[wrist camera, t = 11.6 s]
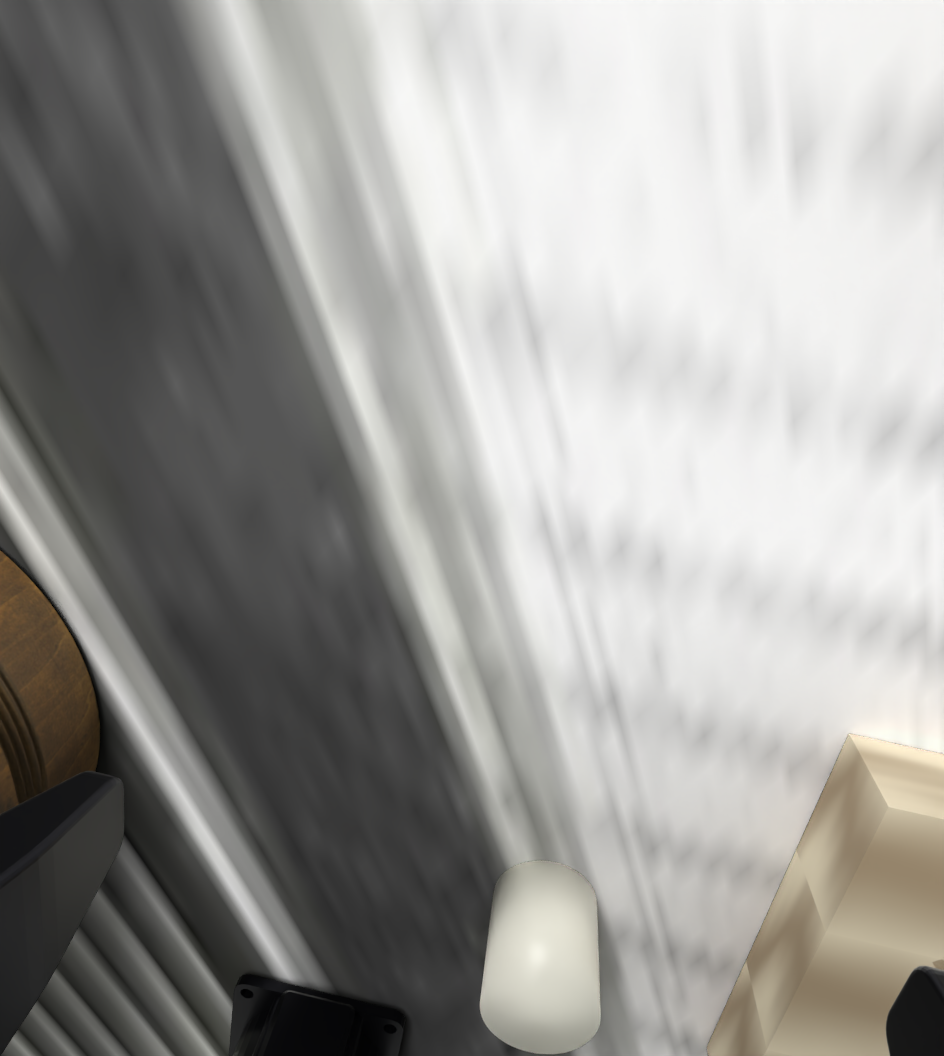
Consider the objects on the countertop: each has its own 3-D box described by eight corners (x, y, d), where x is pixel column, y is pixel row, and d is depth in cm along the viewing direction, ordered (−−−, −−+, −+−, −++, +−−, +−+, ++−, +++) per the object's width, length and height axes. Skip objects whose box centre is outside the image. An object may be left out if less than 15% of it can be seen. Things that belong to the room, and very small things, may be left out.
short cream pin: (583, 948, 26) (585, 1065, 23) (484, 924, 27) (470, 1037, 23) (608, 874, 25) (613, 986, 21) (504, 849, 25) (491, 957, 22)
